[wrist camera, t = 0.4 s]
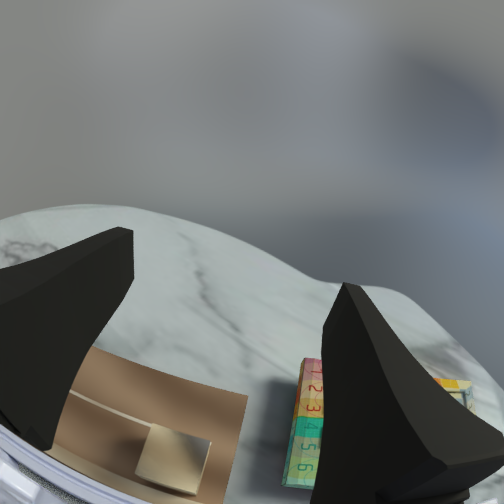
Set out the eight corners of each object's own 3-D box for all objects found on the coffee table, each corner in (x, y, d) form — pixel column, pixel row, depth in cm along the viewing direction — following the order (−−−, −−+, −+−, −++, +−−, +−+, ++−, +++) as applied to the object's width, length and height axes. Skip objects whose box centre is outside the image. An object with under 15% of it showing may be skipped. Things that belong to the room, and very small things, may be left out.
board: (210, 543, 15) (212, 547, 13) (-24, 424, 16) (-39, 414, 14) (246, 401, 26) (250, 390, 24) (33, 324, 27) (24, 308, 25)
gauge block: (196, 496, 17) (195, 493, 14) (145, 480, 17) (134, 473, 14) (208, 452, 20) (210, 440, 17) (160, 438, 20) (152, 422, 17)
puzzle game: (307, 352, 26) (475, 376, 24) (293, 375, 29) (451, 396, 27) (288, 483, 17) (487, 475, 16) (273, 488, 20) (456, 486, 19)
